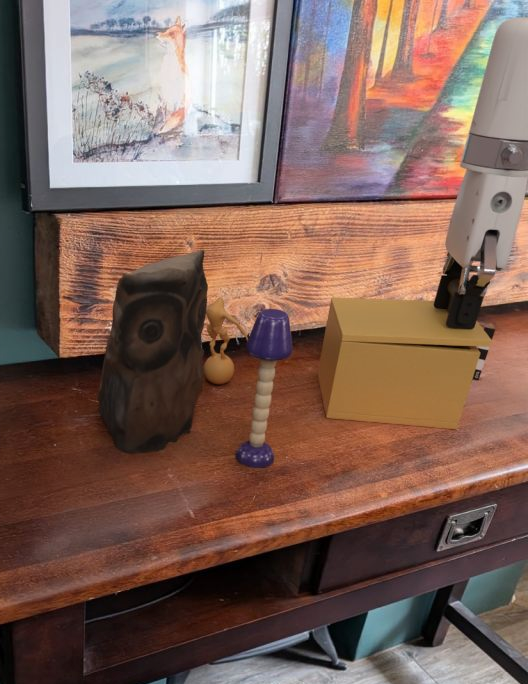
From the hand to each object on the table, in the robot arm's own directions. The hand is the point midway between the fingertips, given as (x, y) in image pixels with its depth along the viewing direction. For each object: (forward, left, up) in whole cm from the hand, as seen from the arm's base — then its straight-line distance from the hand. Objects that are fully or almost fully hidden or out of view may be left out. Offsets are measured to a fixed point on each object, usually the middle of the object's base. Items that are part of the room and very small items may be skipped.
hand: (452, 316), depth 90 cm
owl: (+36, +13, -12) cm, 40 cm away
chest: (+6, 0, -12) cm, 13 cm away
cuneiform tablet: (-4, -14, -12) cm, 19 cm away
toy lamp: (+23, +19, -12) cm, 32 cm away
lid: (+5, 0, -1) cm, 6 cm away
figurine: (+28, 0, -12) cm, 30 cm away
